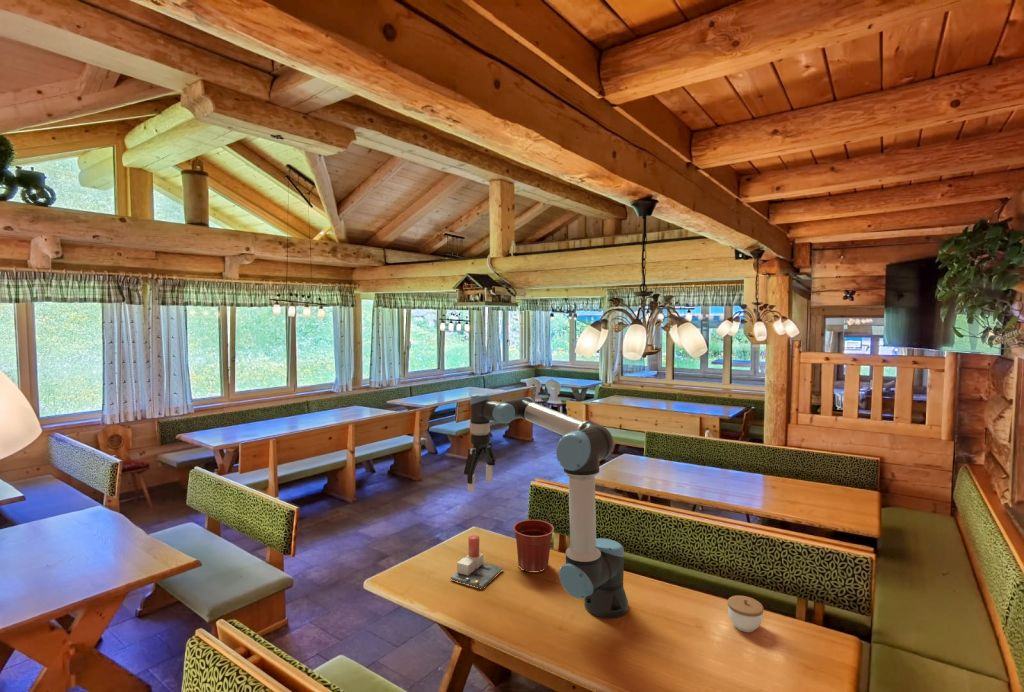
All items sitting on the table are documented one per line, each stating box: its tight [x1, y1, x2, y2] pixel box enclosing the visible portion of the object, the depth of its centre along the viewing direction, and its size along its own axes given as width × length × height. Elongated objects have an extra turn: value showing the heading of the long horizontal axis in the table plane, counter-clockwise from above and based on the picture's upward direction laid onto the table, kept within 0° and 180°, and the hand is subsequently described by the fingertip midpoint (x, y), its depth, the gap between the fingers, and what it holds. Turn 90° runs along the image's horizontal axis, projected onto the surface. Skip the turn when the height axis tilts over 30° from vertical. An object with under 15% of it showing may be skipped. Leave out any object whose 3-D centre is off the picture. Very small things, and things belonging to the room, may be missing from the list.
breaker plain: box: [456, 556, 475, 575], centre depth 203 cm, size 5×5×4 cm
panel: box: [450, 561, 504, 589], centre depth 203 cm, size 14×16×2 cm
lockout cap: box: [467, 534, 480, 557], centre depth 208 cm, size 4×4×7 cm
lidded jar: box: [727, 595, 764, 633], centre depth 170 cm, size 11×11×9 cm
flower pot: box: [512, 519, 555, 572], centre depth 211 cm, size 16×16×16 cm
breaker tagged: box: [465, 552, 484, 569], centre depth 208 cm, size 5×5×4 cm
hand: (480, 486), depth 205 cm, fingers open, 13 cm apart
